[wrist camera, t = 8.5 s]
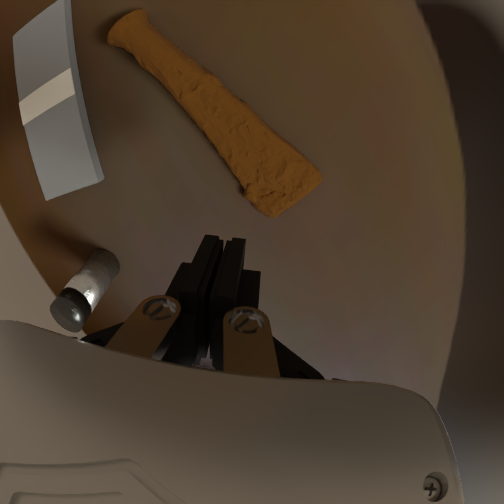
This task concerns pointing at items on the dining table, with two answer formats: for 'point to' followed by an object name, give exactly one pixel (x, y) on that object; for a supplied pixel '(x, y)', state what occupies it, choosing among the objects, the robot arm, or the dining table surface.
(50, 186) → the panel
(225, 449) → the robot arm
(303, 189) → the primitive tool
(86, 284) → the steel peg
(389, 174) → the dining table surface
